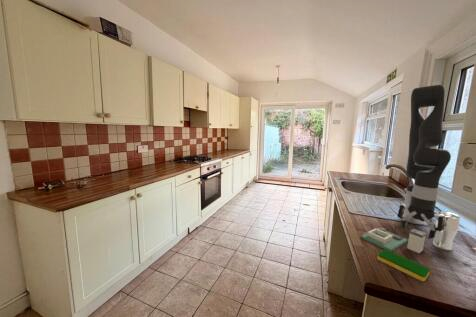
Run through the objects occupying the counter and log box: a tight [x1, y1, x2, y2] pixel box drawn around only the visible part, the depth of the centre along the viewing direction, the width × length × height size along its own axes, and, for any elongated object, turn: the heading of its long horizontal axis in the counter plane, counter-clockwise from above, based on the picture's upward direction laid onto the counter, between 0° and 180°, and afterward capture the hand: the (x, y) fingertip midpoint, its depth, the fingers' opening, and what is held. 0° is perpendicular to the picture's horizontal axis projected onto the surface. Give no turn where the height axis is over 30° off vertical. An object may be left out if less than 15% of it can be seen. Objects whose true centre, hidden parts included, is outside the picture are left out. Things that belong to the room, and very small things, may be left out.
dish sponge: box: [376, 249, 431, 282], centre depth 73 cm, size 7×14×2 cm, turn 35°
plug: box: [406, 228, 427, 254], centre depth 83 cm, size 4×4×8 cm
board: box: [360, 227, 409, 252], centre depth 90 cm, size 16×12×3 cm
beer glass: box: [432, 211, 461, 251], centre depth 85 cm, size 7×7×15 cm
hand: (416, 233), depth 82 cm, fingers open, 8 cm apart
